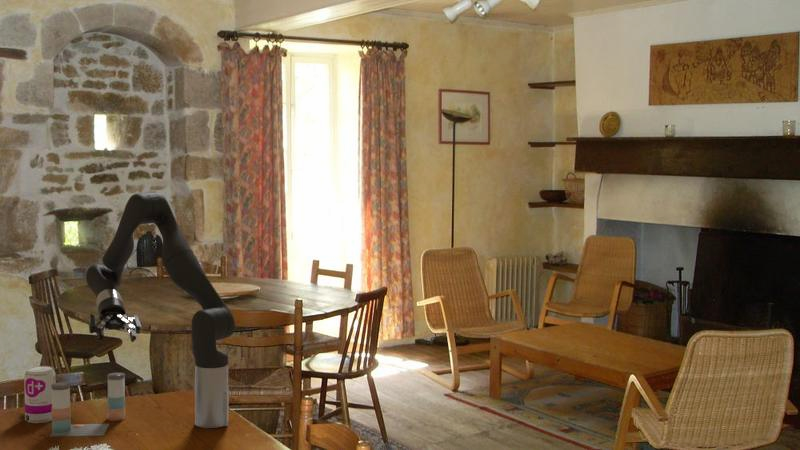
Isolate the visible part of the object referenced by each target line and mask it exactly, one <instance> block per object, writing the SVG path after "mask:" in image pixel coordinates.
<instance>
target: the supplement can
mask: <svg viewBox="0 0 800 450" xmlns="http://www.w3.org/2000/svg"><path fill="white" fill-rule="evenodd" d="M53 368H54V367H53V366H48V365H37V366H36V365H35V366H31V367H28V368H26V371H25V373H24V375H23V377H24V380H23V381H24V382H23V383H24V385H23V387H24V420H25V421H26V422H27V423H32V424H40V423H41V424H42V423H48V422H52V388H51V385H52V384H54V383H56V376H55V371H54V369H53Z"/></svg>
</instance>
